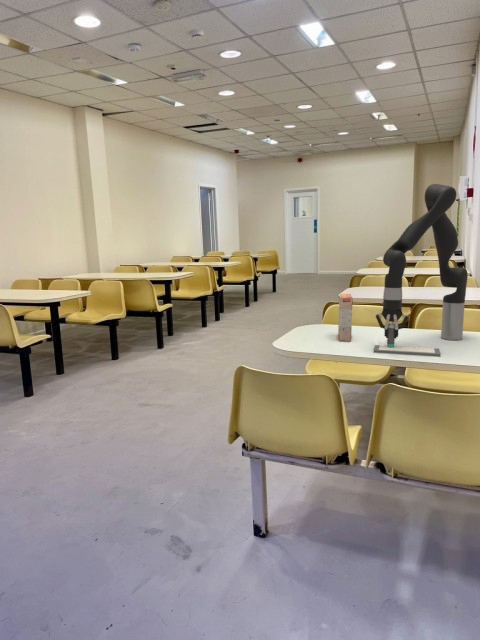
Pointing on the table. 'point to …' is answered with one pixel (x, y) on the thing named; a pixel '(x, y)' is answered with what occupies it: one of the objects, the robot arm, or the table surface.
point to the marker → (391, 335)
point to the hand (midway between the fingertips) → (391, 337)
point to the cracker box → (345, 317)
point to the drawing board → (407, 350)
